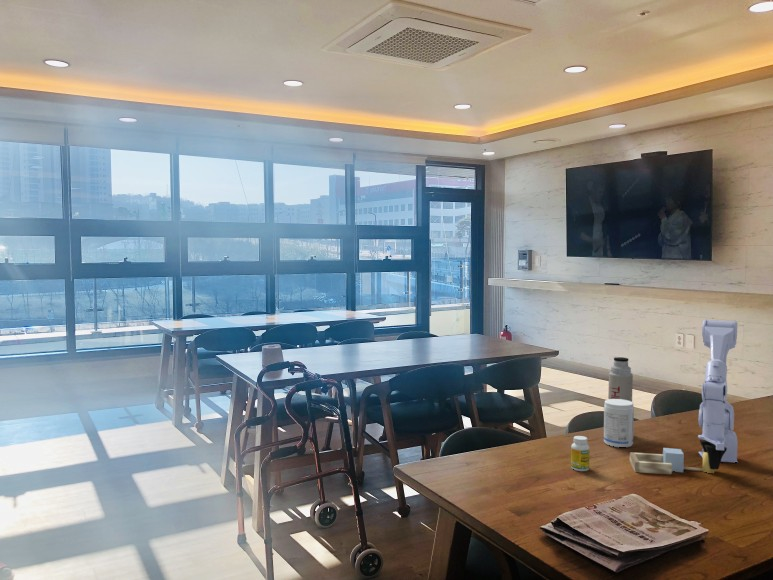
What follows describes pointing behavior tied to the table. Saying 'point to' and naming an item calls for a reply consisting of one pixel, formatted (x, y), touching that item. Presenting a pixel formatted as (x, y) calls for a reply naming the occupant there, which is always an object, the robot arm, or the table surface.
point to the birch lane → (649, 463)
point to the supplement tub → (618, 422)
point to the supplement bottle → (580, 454)
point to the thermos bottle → (620, 380)
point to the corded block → (678, 460)
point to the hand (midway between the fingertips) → (712, 466)
